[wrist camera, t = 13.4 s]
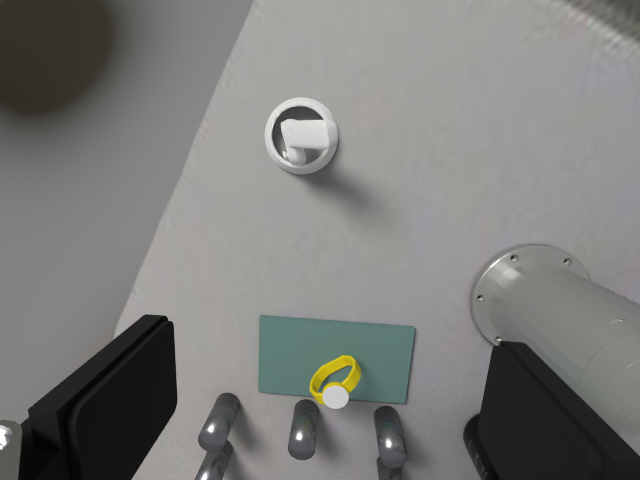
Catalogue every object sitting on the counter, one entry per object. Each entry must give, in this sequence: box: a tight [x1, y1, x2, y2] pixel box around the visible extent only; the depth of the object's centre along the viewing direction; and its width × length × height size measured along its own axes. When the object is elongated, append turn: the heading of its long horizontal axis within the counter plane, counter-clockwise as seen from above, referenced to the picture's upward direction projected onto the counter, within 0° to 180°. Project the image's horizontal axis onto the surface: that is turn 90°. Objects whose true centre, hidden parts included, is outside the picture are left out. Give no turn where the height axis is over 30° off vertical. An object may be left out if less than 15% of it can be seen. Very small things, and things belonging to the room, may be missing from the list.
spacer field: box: [195, 393, 407, 480], centre depth 42 cm, size 25×17×6 cm
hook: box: [265, 98, 339, 174], centre depth 33 cm, size 8×12×7 cm
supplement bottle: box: [463, 413, 501, 480], centre depth 37 cm, size 7×7×12 cm
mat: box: [259, 315, 415, 404], centre depth 41 cm, size 18×10×1 cm, turn 87°
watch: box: [310, 355, 361, 409], centre depth 38 cm, size 6×3×6 cm, turn 122°
